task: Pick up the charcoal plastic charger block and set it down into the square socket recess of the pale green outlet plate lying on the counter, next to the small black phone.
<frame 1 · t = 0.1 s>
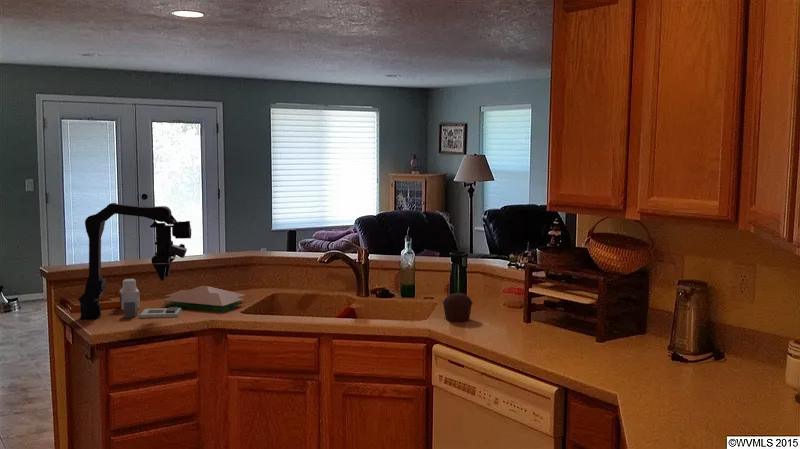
hand: (164, 278, 284), 15 cm above the worktop, tool pointing down, fingers open, 9 cm apart
outlet plate: (161, 314, 287), on the worktop
house: (206, 305, 307), on the worktop
medicine bottle: (129, 308, 299), on the worktop
charger block: (131, 316, 283), on the worktop
muffin: (457, 320, 279), on the worktop
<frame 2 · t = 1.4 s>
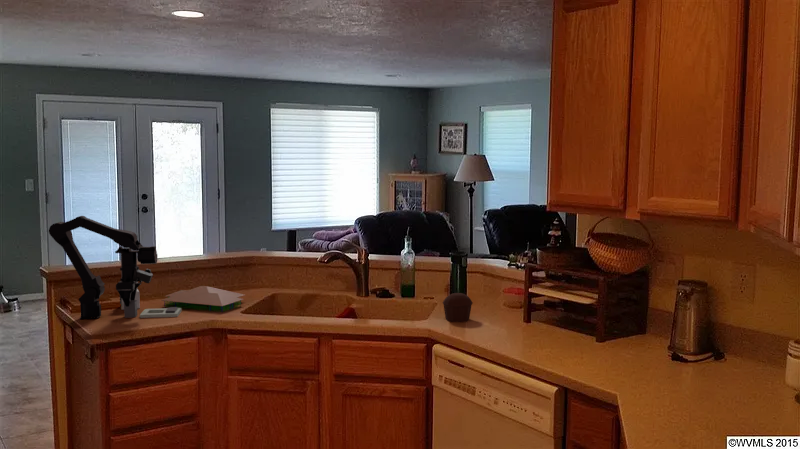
hand: (130, 304, 283), 5 cm above the worktop, tool pointing down, fingers open, 9 cm apart
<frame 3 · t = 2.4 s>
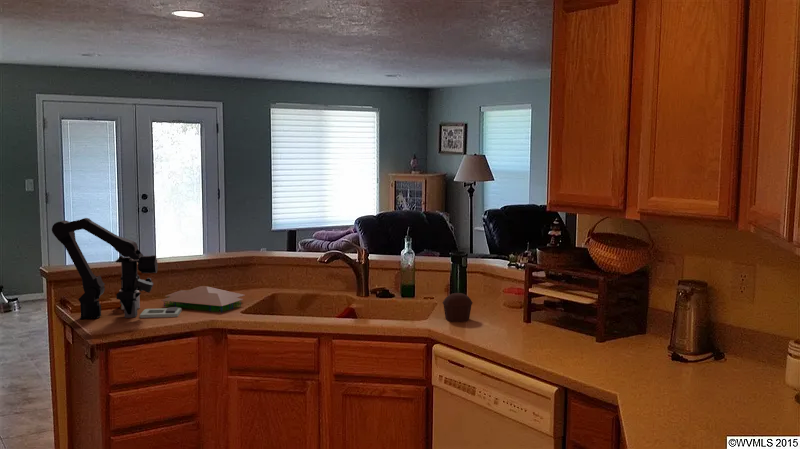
hand: (130, 313, 283), 1 cm above the worktop, tool pointing down, fingers closed on charger block, 4 cm apart
charger block: (131, 316, 283), on the worktop, touching gripper
everything else where it was.
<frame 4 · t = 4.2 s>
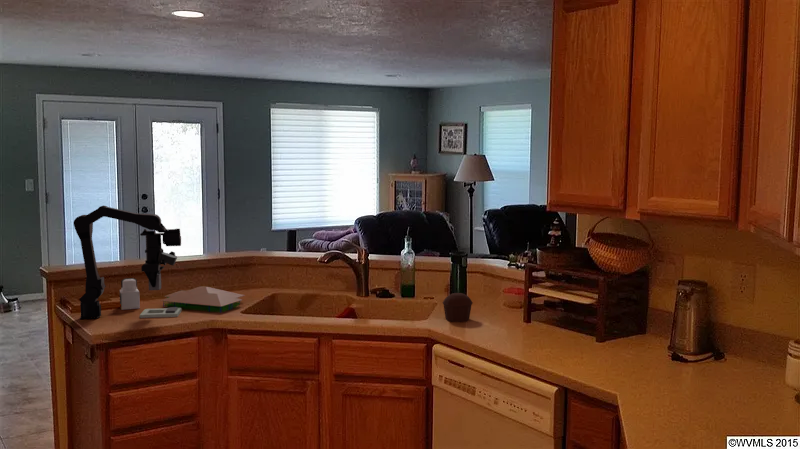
hand: (154, 286, 285), 11 cm above the worktop, tool pointing down, fingers closed on charger block, 4 cm apart
charger block: (155, 289, 285), point 10 cm above the worktop, touching gripper
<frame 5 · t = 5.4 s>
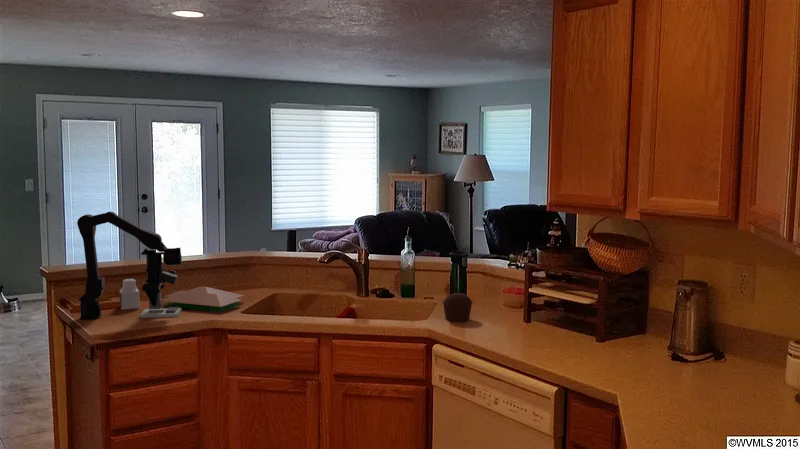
hand: (155, 305, 286), 4 cm above the worktop, tool pointing down, fingers closed on charger block, 4 cm apart
charger block: (155, 308, 286), point 3 cm above the worktop, touching gripper
when the fingers open (2 cm above the worktop, at t = 6.1 s): charger block stays where it is, resting in outlet plate.
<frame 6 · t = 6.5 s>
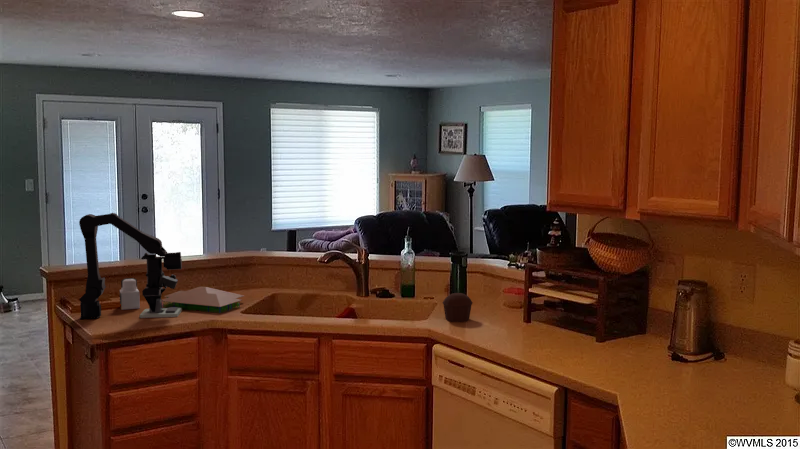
hand: (155, 309, 286), 2 cm above the worktop, tool pointing down, fingers open, 8 cm apart
charger block: (155, 314, 286), resting in outlet plate
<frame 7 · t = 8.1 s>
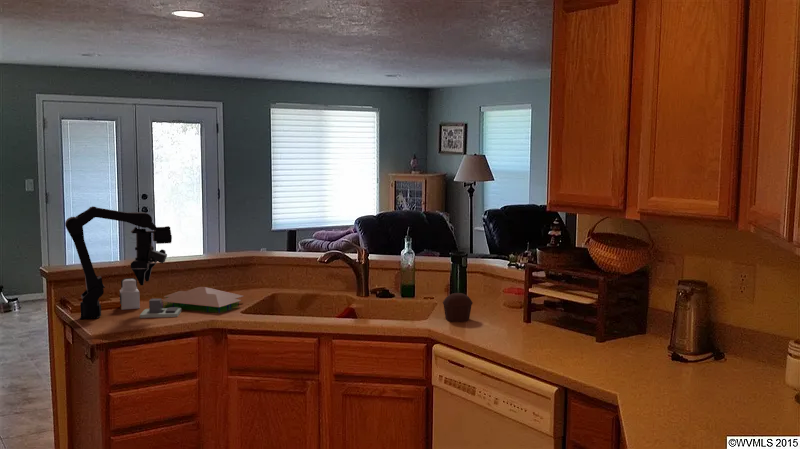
hand: (144, 283, 289), 12 cm above the worktop, tool pointing down, fingers open, 9 cm apart
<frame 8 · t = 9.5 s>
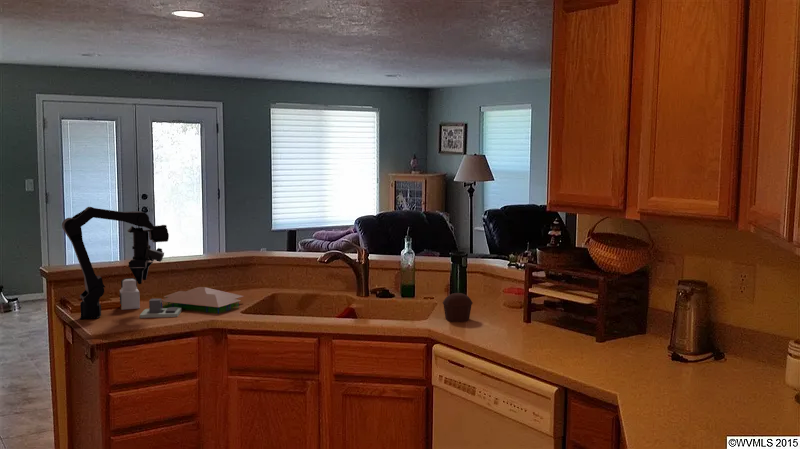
hand: (142, 282, 290), 12 cm above the worktop, tool pointing down, fingers open, 9 cm apart
at the end: charger block 0.0 cm from the target spot on the outlet plate, point 0.0 cm above the outlet plate's base; charger block tilted 0° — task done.
